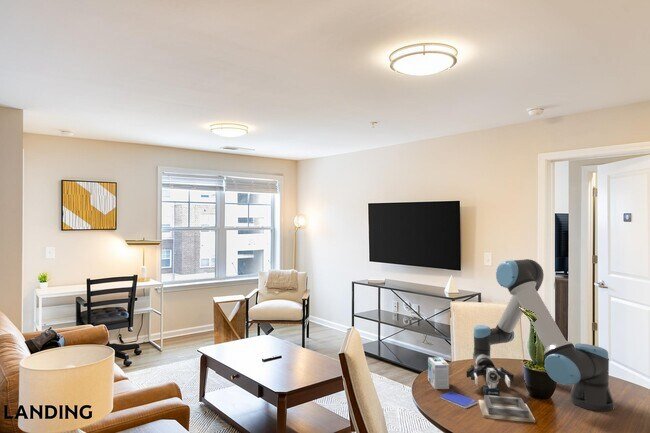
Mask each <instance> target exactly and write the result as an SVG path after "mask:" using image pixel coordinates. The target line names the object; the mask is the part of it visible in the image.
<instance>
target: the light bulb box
mask: <svg viewBox="0 0 650 433" xmlns="http://www.w3.org/2000/svg"><path fill="white" fill-rule="evenodd" d="M427 367H428V368H427V382H429V384H430V385H431V387H432V388H433V389H434V390H449V389H450V364H449V363H448V362H447V361H446V359H444V358H443V357H441V356H438V357H435V356H434V357H427Z"/></svg>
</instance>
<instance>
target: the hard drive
mask: <svg viewBox="0 0 650 433" xmlns="http://www.w3.org/2000/svg"><path fill="white" fill-rule="evenodd" d="M439 399H442V400H444V401H446V402H449V403H451V404H453V405H456V406H458V407H461V408H463V409H465V408H466V409H468V408H470V407H473V406H474V405H477V404H479V402H478V400H476V399H473V398H471V397H468V396H465V395H464V394H463V395H462V394H459V393H457V392H455V391H449V392H446V393H443V394H440V395H439Z"/></svg>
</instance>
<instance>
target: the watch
mask: <svg viewBox="0 0 650 433" xmlns="http://www.w3.org/2000/svg"><path fill="white" fill-rule="evenodd" d="M485 379H486V384H485V385H483V386H482V393H483V394H484V395H491V396H501V395H500V392H501V391H500V388H499V387H498V384H499V381H500V379H501V378H500V376H499V375H498V373H497V372H496V370H494V368H487V370H486V376H485Z"/></svg>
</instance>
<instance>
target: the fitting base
mask: <svg viewBox="0 0 650 433" xmlns="http://www.w3.org/2000/svg"><path fill="white" fill-rule="evenodd" d="M477 401H478V405H479V408H480V411H481V414H482V417H483V418H484V419H495V420H504V421H516V422H526V423H536V418H535V417H534V415H533V412H532V411H531V410H530V408H529V406H528V405H527V403H525V402H524V399H522V397H515V396H514V397H513V396H502V395H500V396H491V395H485V394H484V395H483V399H478V400H477Z"/></svg>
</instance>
